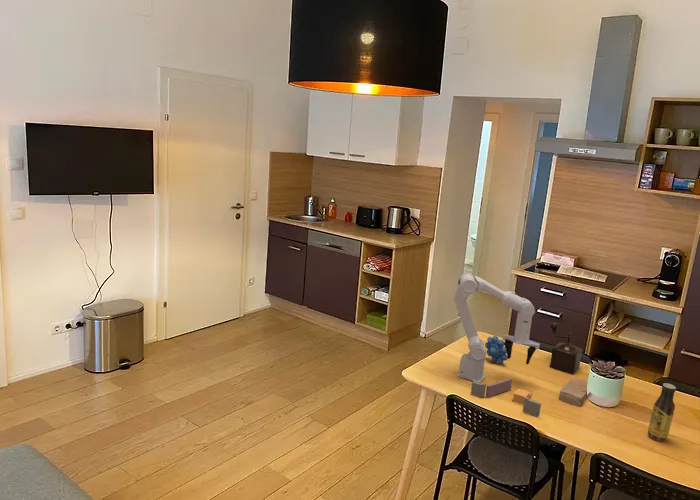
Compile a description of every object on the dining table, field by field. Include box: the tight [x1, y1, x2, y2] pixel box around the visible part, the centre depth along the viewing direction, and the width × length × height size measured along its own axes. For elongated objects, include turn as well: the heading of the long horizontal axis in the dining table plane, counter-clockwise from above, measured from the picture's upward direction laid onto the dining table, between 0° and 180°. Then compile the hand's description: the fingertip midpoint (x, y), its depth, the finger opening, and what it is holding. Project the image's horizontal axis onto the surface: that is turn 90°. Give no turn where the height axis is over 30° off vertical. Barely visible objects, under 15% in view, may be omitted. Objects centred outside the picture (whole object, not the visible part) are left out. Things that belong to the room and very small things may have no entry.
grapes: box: [484, 335, 509, 365], centre depth 242 cm, size 12×7×12 cm, turn 44°
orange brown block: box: [512, 388, 533, 405], centre depth 211 cm, size 4×9×4 cm, turn 146°
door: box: [485, 377, 513, 398], centre depth 214 cm, size 14×2×4 cm, turn 126°
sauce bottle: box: [647, 382, 677, 442], centre depth 187 cm, size 7×6×20 cm
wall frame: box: [470, 381, 542, 418], centre depth 205 cm, size 26×2×6 cm, turn 56°
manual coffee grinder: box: [549, 322, 583, 375], centre depth 243 cm, size 16×11×18 cm
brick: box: [558, 377, 588, 407], centre depth 216 cm, size 17×8×5 cm, turn 143°
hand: (518, 360), depth 224 cm, fingers open, 7 cm apart
